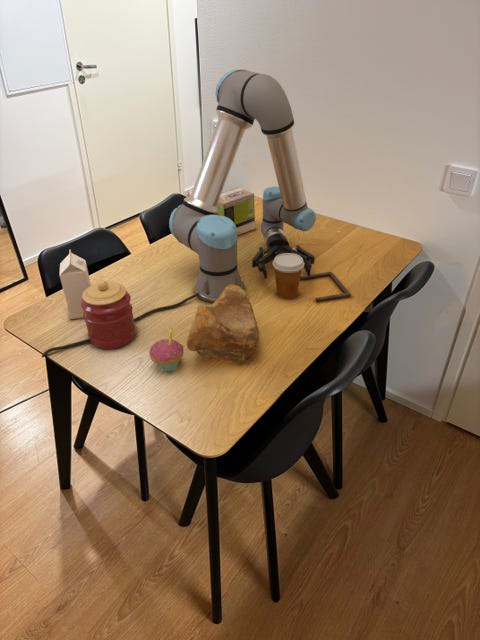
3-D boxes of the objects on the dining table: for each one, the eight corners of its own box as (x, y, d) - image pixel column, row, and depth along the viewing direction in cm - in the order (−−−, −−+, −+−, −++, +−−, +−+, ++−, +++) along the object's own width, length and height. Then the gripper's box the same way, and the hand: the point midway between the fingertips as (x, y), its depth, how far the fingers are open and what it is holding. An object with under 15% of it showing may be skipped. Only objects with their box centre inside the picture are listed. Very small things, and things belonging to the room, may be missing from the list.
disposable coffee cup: (304, 287, 157) (306, 254, 150) (299, 303, 150) (301, 269, 143) (275, 284, 159) (276, 250, 152) (268, 299, 152) (269, 265, 145)
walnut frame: (316, 302, 150) (317, 299, 149) (299, 278, 162) (299, 276, 161) (350, 297, 152) (351, 294, 152) (331, 274, 164) (331, 271, 163)
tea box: (239, 221, 200) (238, 186, 191) (255, 229, 193) (255, 193, 185) (209, 232, 192) (207, 195, 183) (225, 240, 185) (224, 203, 177)
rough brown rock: (234, 388, 120) (238, 340, 112) (178, 363, 126) (178, 315, 118) (275, 339, 137) (282, 295, 129) (224, 319, 143) (227, 275, 135)
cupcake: (185, 354, 130) (182, 317, 123) (183, 376, 123) (179, 337, 116) (153, 355, 130) (147, 318, 123) (149, 377, 123) (143, 339, 116)
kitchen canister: (90, 354, 131) (76, 298, 121) (88, 326, 141) (75, 273, 131) (139, 345, 134) (130, 289, 124) (133, 319, 144) (125, 266, 134)
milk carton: (70, 319, 144) (56, 262, 133) (71, 307, 150) (56, 250, 139) (95, 316, 146) (83, 258, 135) (94, 303, 151) (82, 247, 140)
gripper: (311, 250, 172) (326, 281, 154) (240, 254, 170) (247, 286, 153) (313, 231, 167) (328, 260, 150) (240, 235, 166) (247, 265, 148)
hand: (287, 273), depth 151 cm, fingers open, 13 cm apart
